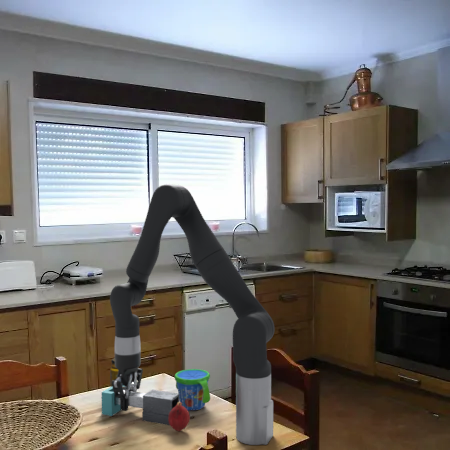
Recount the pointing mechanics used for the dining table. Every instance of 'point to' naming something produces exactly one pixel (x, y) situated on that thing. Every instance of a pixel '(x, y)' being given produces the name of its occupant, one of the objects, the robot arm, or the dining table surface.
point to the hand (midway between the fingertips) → (128, 407)
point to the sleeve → (158, 406)
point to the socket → (109, 402)
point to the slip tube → (132, 399)
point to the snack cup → (193, 388)
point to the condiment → (113, 372)
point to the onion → (179, 417)
